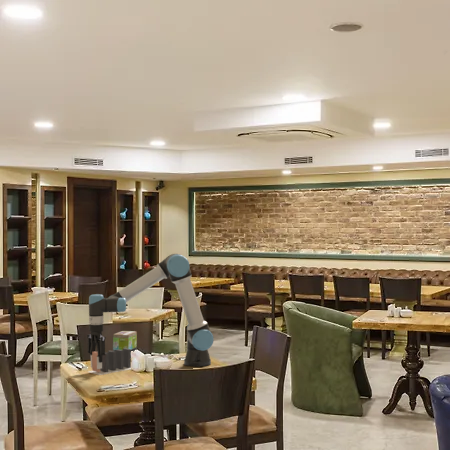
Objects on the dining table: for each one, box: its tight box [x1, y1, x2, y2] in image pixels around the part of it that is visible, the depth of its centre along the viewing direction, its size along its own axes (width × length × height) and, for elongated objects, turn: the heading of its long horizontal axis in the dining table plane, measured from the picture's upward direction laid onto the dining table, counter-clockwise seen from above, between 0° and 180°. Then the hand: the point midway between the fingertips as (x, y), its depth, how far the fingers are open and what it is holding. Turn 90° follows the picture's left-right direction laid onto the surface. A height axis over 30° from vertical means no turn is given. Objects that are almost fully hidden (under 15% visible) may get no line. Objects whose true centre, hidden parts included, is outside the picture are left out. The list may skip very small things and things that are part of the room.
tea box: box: [112, 330, 138, 351], centre depth 414 cm, size 15×10×15 cm
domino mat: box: [87, 367, 132, 376], centre depth 375 cm, size 12×24×1 cm, turn 135°
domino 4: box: [115, 349, 123, 369], centre depth 379 cm, size 5×2×10 cm, turn 45°
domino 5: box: [123, 348, 132, 368], centre depth 383 cm, size 5×2×10 cm, turn 45°
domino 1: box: [91, 350, 100, 372], centre depth 368 cm, size 5×2×10 cm, turn 45°
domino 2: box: [100, 351, 108, 372], centre depth 372 cm, size 5×2×10 cm, turn 45°
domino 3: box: [107, 350, 116, 371], centre depth 375 cm, size 5×2×10 cm, turn 45°
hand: (96, 367), depth 368 cm, fingers closed on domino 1, 5 cm apart
